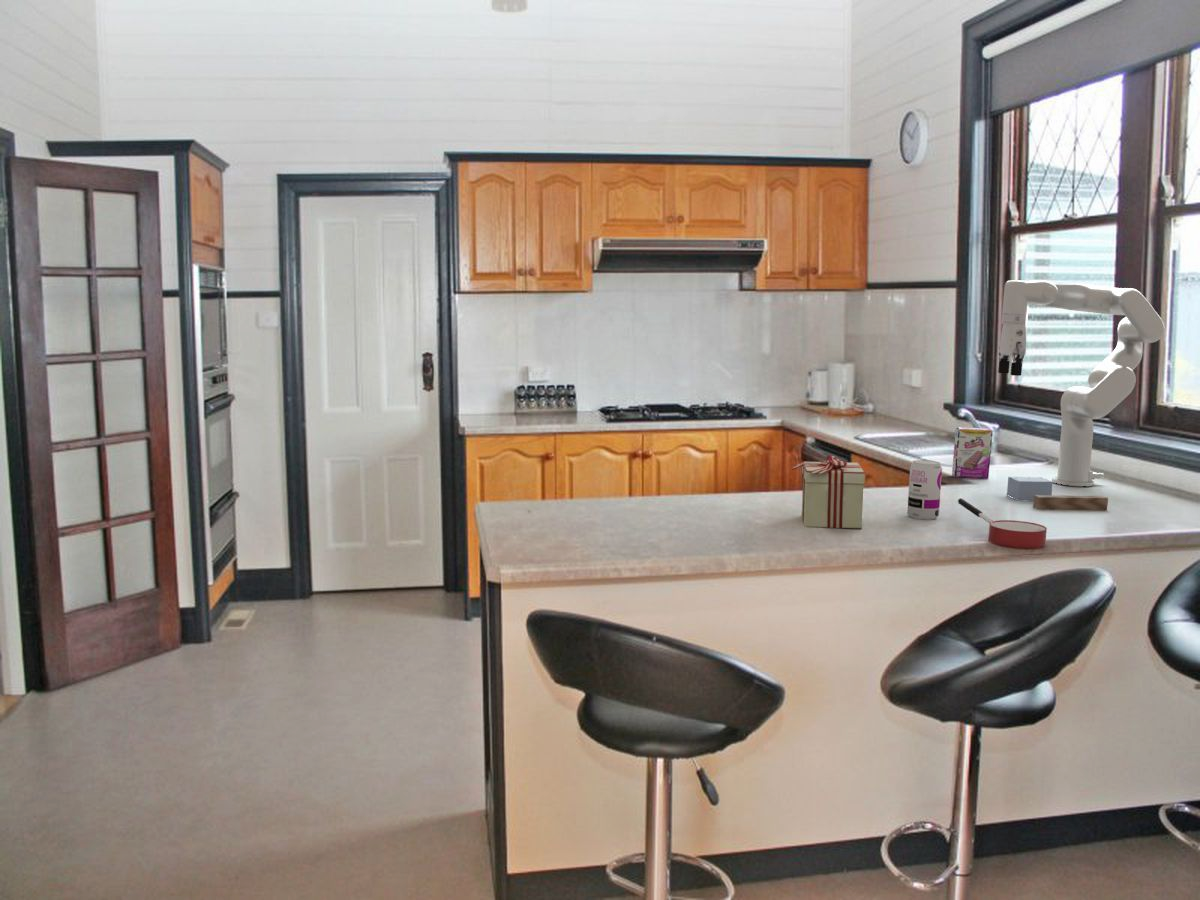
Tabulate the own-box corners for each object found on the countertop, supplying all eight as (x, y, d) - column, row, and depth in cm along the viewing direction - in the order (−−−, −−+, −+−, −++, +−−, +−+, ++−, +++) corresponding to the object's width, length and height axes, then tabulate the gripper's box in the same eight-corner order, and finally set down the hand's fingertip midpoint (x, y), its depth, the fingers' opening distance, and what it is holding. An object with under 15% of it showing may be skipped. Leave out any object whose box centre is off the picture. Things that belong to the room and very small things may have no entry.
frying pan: (930, 523, 288) (931, 499, 287) (971, 520, 292) (973, 497, 291) (1012, 551, 258) (1014, 524, 257) (1057, 548, 262) (1059, 521, 261)
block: (1039, 496, 331) (1040, 477, 330) (1050, 501, 323) (1052, 481, 322) (1006, 496, 331) (1008, 476, 330) (1017, 501, 323) (1019, 481, 322)
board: (1100, 507, 314) (1101, 495, 314) (1106, 510, 311) (1108, 498, 310) (1033, 507, 313) (1033, 495, 313) (1038, 509, 310) (1039, 497, 309)
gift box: (785, 515, 293) (788, 451, 290) (854, 517, 292) (858, 453, 290) (794, 529, 276) (798, 461, 274) (868, 531, 276) (872, 463, 273)
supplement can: (939, 515, 297) (942, 461, 295) (937, 521, 290) (941, 465, 288) (908, 513, 300) (911, 459, 298) (906, 518, 292) (909, 463, 290)
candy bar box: (954, 477, 362) (958, 428, 359) (951, 475, 366) (954, 426, 364) (989, 479, 360) (993, 429, 358) (985, 476, 365) (989, 428, 363)
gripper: (1037, 321, 336) (1032, 376, 339) (1014, 319, 354) (1010, 372, 356) (1013, 320, 336) (1008, 375, 339) (992, 319, 353) (987, 371, 356)
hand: (1009, 374), depth 347 cm, fingers open, 9 cm apart
